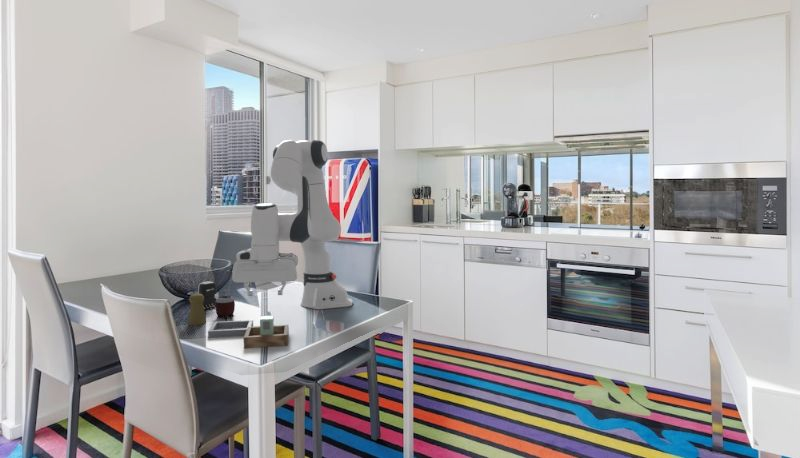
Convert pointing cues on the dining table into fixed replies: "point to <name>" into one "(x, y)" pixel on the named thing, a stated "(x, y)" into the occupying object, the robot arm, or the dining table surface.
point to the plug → (267, 325)
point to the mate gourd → (225, 305)
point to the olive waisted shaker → (196, 310)
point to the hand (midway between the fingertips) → (265, 295)
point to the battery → (208, 294)
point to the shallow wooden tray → (266, 337)
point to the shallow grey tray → (229, 332)
